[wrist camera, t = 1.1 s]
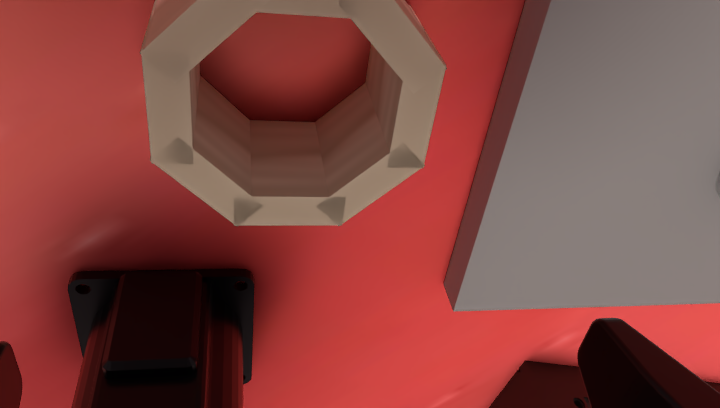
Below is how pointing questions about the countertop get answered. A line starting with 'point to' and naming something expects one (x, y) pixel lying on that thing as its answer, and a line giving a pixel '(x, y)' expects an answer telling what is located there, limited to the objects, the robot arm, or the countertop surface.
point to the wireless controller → (547, 387)
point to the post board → (598, 162)
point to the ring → (289, 138)
